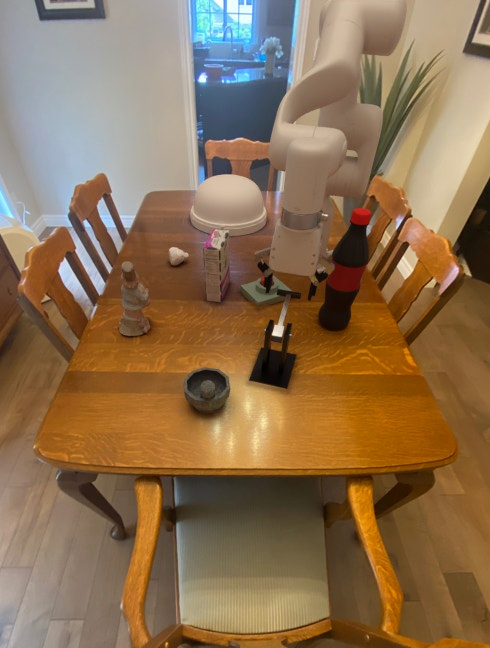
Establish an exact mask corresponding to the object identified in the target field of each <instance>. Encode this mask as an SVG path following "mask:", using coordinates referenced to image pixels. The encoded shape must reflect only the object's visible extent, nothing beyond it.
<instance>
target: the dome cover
mask: <svg viewBox="0 0 490 648" xmlns="http://www.w3.org/2000/svg"><path fill="white" fill-rule="evenodd" d="M267 214H268V213H267V209H266V207H265V205H264V199H263V194H262V191H261V189H260V187H259V185H257V183H255V181H253V180H252V179H251V178H247V177H245V176H242V175H238V174H230V173H229V174H228V173H227V174H218V175H213V176H210V177H208V178H206V179H205V180H203V181H202V182H200V184H199V186H198V187H197V188H196V191H195V194H194V198H193V204H192V206H191V209H190V223H191V225H192V226H193V227H194V228H196V229H197V230H199V231H201V232H203V233H205V234H209V235H210V234H211V232H212V230H213V229H218V230H219V229H220V230H228V231H229V237H239V236H245V235H250V234H253V233H256V232H258V231H260V230H261V229H263V228H264V227H265V226H266V224H267V219H268V217H267Z"/></svg>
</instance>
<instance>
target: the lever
mask: <svg viewBox="0 0 490 648" xmlns="http://www.w3.org/2000/svg"><path fill="white" fill-rule="evenodd" d="M302 294H303V293H302V292H298V291H293V290H292V291H288V290H282V289H278V290H277V295H278V296H284V297H285V300H284V301H283V304H282V309H281V312H280V315H279V318H278V322H277V324H274V326H273V332H272V342H274V343H280V344H282V343H283V337H284V333H285V329H286V326H284V324H285V321H286V317H287V313H288V309H289V306H290V302H291V299H296V300H301V298H302Z"/></svg>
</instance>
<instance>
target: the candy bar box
mask: <svg viewBox="0 0 490 648" xmlns="http://www.w3.org/2000/svg"><path fill="white" fill-rule="evenodd" d="M202 253H203V267H204V268H203V269H204V283H205V300H206V302H212V303H219V304H222V302H223V300H224V298H225V295H226V293H227V291H228V288H229V286H230V283H231V282H230V278H231V277H230V236H229V231H228V230H220V229H219V230H218V229H213V230H212V232H211V234H209V236H208V237H207V239H206V242H205V243H204V245H203V246H202Z"/></svg>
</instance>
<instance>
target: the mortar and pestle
mask: <svg viewBox="0 0 490 648" xmlns="http://www.w3.org/2000/svg"><path fill="white" fill-rule="evenodd" d="M183 394H184V397H185V400H186V401H187V402H188V403H189V404H190V405H191V406H192V407H194V408H195V409H196V410H197V411H199V412H200V413H205V414H212V413H214V412H217V411H218V410H219V409H220V408H222V406H223V405H225V402H226V401H227V400H228V398H229V397H230V394H231V383H230V378H229V375H227V374H226V373H224V372H223V371H222V370H221V369H220V368H213V367H207V366H206V367H205V366H204V367H201V368H197V369H194V370H191V371H190V372H189V373H188V374H187V376H186V377H185V378H184V379H183Z"/></svg>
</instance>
